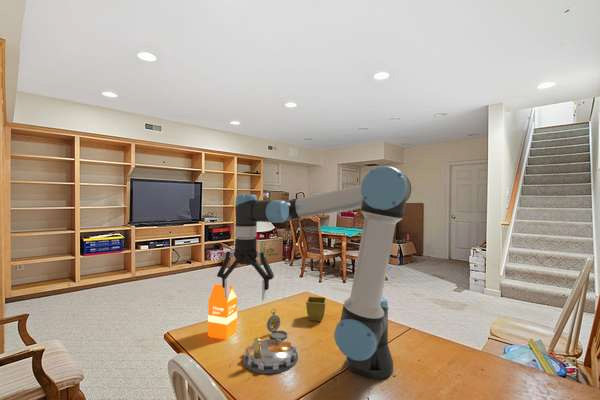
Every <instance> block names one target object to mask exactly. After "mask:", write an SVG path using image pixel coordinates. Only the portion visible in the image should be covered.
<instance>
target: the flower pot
mask: <svg viewBox="0 0 600 400" xmlns="http://www.w3.org/2000/svg"><path fill="white" fill-rule="evenodd" d="M326 303H327V298H326V296H322V297H321V296H307V298H306V301H305V304H306V306H305V307H306V314H307V316H308V319H309V320H310V321H315V322H322V320H323V319H324V316H325V311H326Z"/></svg>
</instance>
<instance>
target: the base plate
mask: <svg viewBox="0 0 600 400" xmlns="http://www.w3.org/2000/svg"><path fill="white" fill-rule="evenodd" d="M244 353H246V351H245V352H244ZM298 360H299V354H298V352H297V351H296V359H295V360H291V365H289V366H287V367H286V366H282V367H278V370H273V369H272V368H271V369H264V370H259V369H258V367H256V366H252V367H250V366H249V365H248V360H244V355H243V356H242V364H243V365H244V368H246V369H248V370H249V371H251V372H253V373H256V374H260V375H276V374H281V373H283V372H286V371H289V370H290V369H292V368H293V367H294V366H296V365H297V363H298Z"/></svg>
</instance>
